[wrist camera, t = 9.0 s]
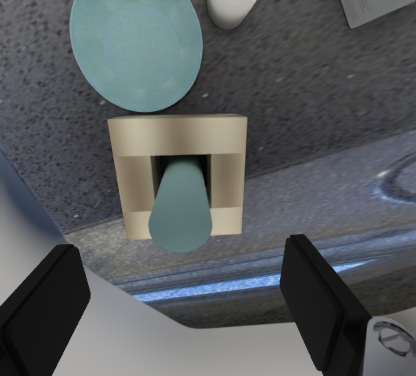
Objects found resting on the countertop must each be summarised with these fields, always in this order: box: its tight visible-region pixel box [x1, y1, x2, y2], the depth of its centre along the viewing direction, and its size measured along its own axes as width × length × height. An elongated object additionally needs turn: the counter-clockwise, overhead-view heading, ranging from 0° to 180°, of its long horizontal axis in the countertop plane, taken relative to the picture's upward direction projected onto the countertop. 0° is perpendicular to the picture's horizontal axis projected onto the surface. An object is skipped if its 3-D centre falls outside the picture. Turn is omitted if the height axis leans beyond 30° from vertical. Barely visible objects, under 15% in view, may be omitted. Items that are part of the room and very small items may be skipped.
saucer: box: [70, 0, 203, 112], centre depth 22 cm, size 12×12×2 cm
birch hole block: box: [107, 114, 247, 240], centre depth 24 cm, size 12×12×6 cm
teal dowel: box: [148, 154, 212, 253], centre depth 21 cm, size 4×4×14 cm
